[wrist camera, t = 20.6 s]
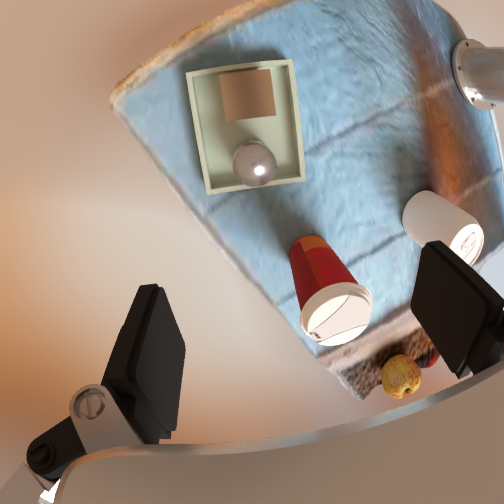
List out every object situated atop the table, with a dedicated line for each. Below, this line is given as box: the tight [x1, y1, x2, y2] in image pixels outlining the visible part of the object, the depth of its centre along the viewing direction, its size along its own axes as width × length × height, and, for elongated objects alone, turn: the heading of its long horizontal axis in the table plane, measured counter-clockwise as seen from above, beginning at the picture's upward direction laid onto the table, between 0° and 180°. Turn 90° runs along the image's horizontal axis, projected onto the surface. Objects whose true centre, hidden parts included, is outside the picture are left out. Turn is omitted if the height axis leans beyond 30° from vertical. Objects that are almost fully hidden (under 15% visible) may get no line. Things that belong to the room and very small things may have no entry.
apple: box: [382, 354, 422, 398], centre depth 52 cm, size 9×9×10 cm
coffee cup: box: [289, 235, 372, 346], centre depth 35 cm, size 8×8×15 cm
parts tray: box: [186, 59, 306, 195], centre depth 31 cm, size 12×15×3 cm
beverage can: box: [402, 191, 484, 266], centre depth 34 cm, size 8×8×12 cm
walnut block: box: [219, 69, 276, 122], centre depth 28 cm, size 5×5×6 cm
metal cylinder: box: [233, 139, 277, 187], centre depth 31 cm, size 4×4×6 cm
